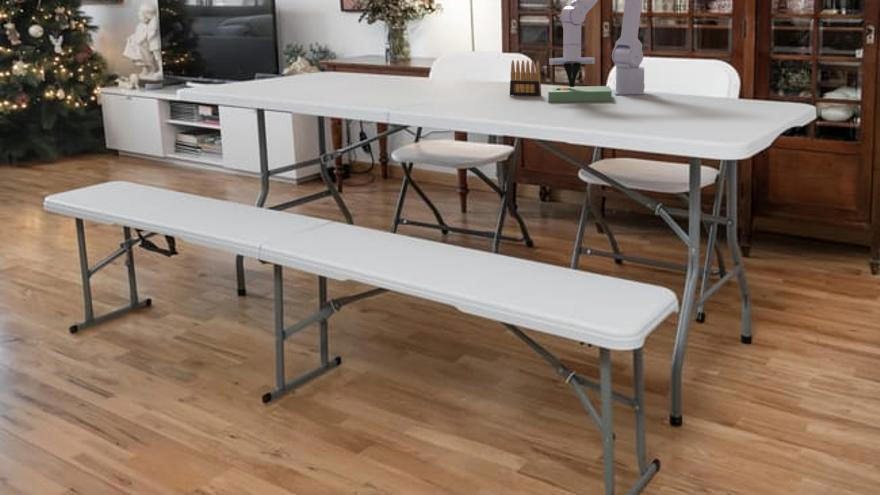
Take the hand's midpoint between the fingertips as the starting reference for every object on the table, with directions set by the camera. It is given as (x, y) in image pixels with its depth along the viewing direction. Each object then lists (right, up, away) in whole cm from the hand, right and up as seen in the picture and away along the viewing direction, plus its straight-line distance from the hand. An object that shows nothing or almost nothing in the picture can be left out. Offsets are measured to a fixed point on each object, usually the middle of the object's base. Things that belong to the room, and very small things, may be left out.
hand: (571, 86), depth 324 cm
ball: (-2, -2, +1) cm, 3 cm away
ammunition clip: (-14, -1, +14) cm, 20 cm away
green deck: (+3, -4, +1) cm, 5 cm away
